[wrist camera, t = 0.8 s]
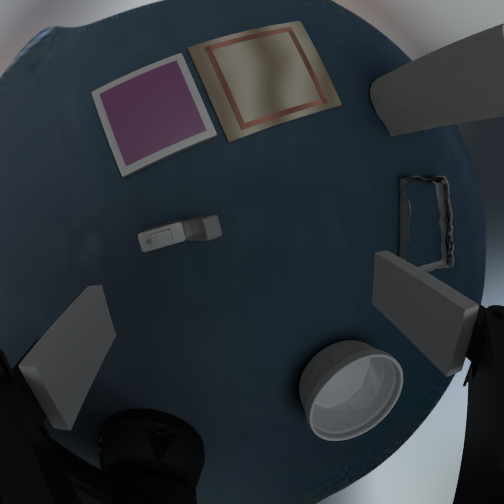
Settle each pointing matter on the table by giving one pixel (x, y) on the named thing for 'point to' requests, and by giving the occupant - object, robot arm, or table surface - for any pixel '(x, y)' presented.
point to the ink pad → (152, 114)
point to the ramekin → (349, 389)
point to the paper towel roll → (444, 86)
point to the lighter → (180, 232)
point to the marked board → (263, 78)
